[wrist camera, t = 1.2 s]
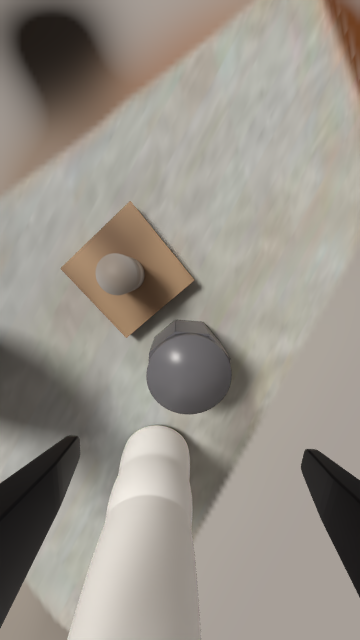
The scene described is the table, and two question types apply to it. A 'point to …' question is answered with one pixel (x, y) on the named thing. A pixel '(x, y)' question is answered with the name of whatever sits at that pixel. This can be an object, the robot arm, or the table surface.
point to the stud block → (127, 271)
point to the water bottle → (144, 549)
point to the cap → (188, 368)
